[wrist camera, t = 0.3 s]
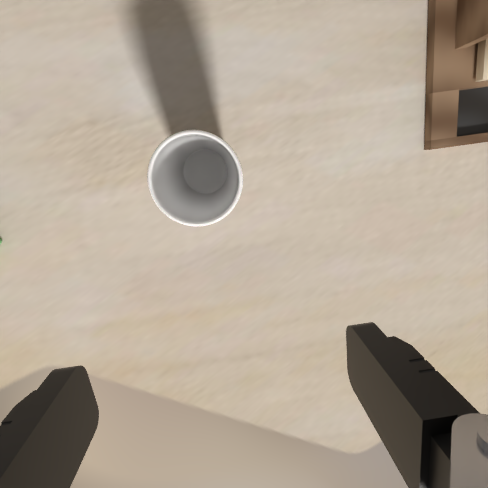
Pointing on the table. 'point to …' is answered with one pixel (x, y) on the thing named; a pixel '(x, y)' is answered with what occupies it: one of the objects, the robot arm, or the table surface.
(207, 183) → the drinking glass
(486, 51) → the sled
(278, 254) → the table surface
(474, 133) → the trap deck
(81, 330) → the table surface
